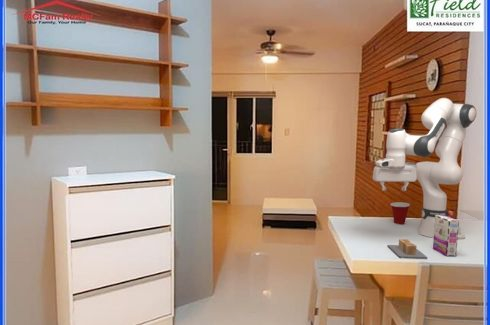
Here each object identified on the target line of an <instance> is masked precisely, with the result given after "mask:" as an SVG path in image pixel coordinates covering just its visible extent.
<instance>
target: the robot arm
mask: <svg viewBox="0 0 490 325" xmlns="http://www.w3.org/2000/svg"><path fill="white" fill-rule="evenodd" d="M476 118H477V109H476V108H475V106H474V105H473V104H469V103H453V101H452V100H451V99H449V98H447V97H441V98H438V99H437V100H435V101H433V102H432V103H431V104H430V105H428V107H427V108H426V109H425V110H424V111H423V112H422V115H421V116H420V119H421V123H422V125H423V127H425V128H426V129H428V130H429V132H428V133H427V134H425V135H423V134H422V135H411V134H409V133H407V132H406V130H405V129H404V128H402V127H401V128H400V127H399V128H392V129H390V130H388V132H387V135H386V142H385V143H386V145H385V148H386V154H385V158H382V159H378V160H376V161H375V166H374V168H373V172H372V180H373V181H374V182H379V184H380V186H381V191H384V192H385V191H387V186H385V185H384V184H385V182H390V183H391V182H392V183H393V182H396V183H397V182H402V183H403V184H404V185H403V186H401V191H403V192H405V191H407V187H408V186H409V182H410V183H411V182H414V183H415V182H416V181H418V182H419V184H420V186H421V189H422V194H423V198H422V199H423V200H422V201H423V203H422V207H421V221H420V225H419V228H418V231H417V232H418V234H419V235H422V236H425V237H429V238H433V239H434V226H435V215H445V216H447V217H450V216H453V215H454V211H451V210H448V209H447V200H448V196H447V194H446V192H445V191H443V190H442V189H441V187H440V185H439V184H441V185H446V186H447V185H451V186H452V185H457V184H459V183H460V182H461V181H462V180H463V176H464V172H463V169H462V168H461V167H460V165H459V163H458V156H459V154H460V150H461V148H462V146H463V144H464V141H465V138H466V133H467V129H466V128H468V127H470V126H471V125H472V123H473V122H474V121H475V119H476ZM434 152H435V155H436V156H437V157H438V158H439V161H438V162H435V161H419V162H417V163H414V162H413V161H412V162H411V161H410V162H408V161H407V162H406V155H407V156H414V157H416V156H417V157H422V158H428V157H430V156H431V155H432V154H433V153H434ZM459 239H460V240H462V239H464V240H465V239H466V236H465V234H464V233H462V232H461V226H460V225H459V228H458V239H457V240H459Z"/></svg>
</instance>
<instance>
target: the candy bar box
mask: <svg viewBox="0 0 490 325" xmlns="http://www.w3.org/2000/svg"><path fill="white" fill-rule="evenodd" d="M459 226H460V221H459V220H458V219H456V218H452V217H450V216H449V217H447V216H445V215H435V226H434V238H433V242H432V249H433V250H434V251H436V252H438V253H440V254H442V255H443V256H446V257H457V248H458V240H459V239H458V228H459Z"/></svg>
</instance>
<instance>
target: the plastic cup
mask: <svg viewBox="0 0 490 325" xmlns="http://www.w3.org/2000/svg"><path fill="white" fill-rule="evenodd" d="M410 205H411V204H410V203H408V202H403V201H402V202H399V201H398V202H392V203H390V206H391V209H392V210H391V211H392V216H393V223H394V224H395V225H405V224H406V219H407V216H408V212H409V208H410Z"/></svg>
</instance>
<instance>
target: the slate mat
mask: <svg viewBox="0 0 490 325" xmlns="http://www.w3.org/2000/svg"><path fill="white" fill-rule="evenodd" d="M386 247H388V249H390V250H391V252H393V253H394V254H395V255H396V257H398V258H399V259H413V260H414V259H416V260H417V259H418V260H419V259H420V260H428V257H427V256H426V255H425V254H424V253H423V252H421V251H420V250H419V249H418V248H416V255H407V254H406V253H404V252H403V251H402V250H401V249H400V248H399V244H387V246H386Z"/></svg>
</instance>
